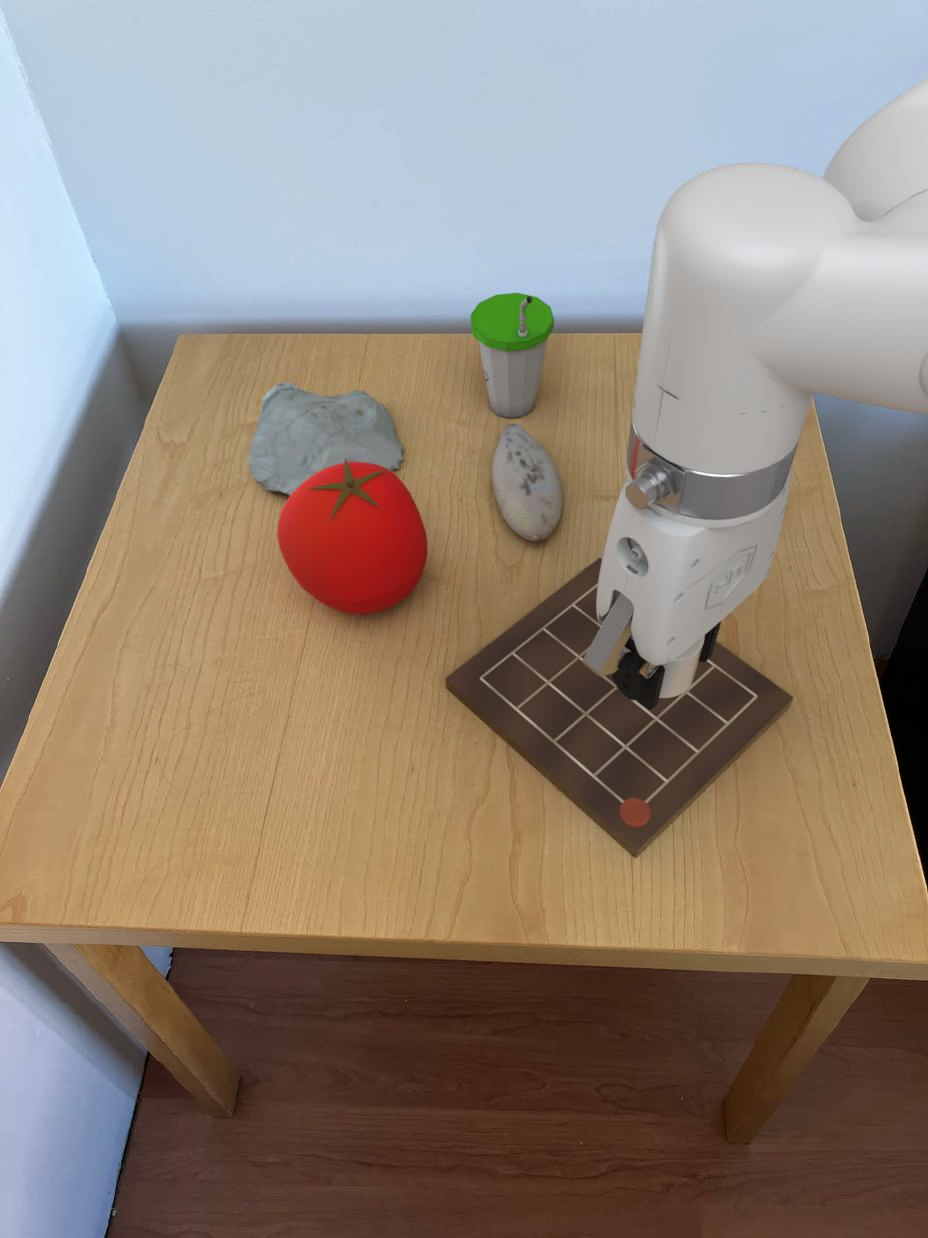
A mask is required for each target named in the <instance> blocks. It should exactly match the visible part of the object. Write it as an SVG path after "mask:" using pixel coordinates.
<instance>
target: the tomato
mask: <svg viewBox="0 0 928 1238" xmlns="http://www.w3.org/2000/svg"><path fill="white" fill-rule="evenodd" d="M276 537H277V541H278V547H279V550H280V553H281V555H282V557H283V561H284V562H285V565H286V566H287V568H288V570H289V572H290V574H291V575H292V576H293V578H294V579H295V581H296V582H297V583H298V584H299V585H300V586H301V588H302V589H303V590H304V591H305V592H307V593H308V594H309V595H311V596H312V597H313V598H315V600H317V601H318V602H320V603H321V604H322V605H325V606H326V607H328V608H330V609H333V610H336V611H339V612H341V613H346V614H350V615H369V614H374V613H378V612H382V611H385V610H388V609H391V608H392V607H394V606H397V604H399V603H401V602H402V601H403V600H404V599H405V598H406V597H407V596H409V595H410V594H412V592H413V591H414V590H415V588H416V587H417V585H418V584H419V583H420V580H421V578H422V576H423V573H424V570H425V566H426V562H427V559H428V538H427V532H426V529H425V525H424V522H423V520H422V516H421V514H420V511H419V508H418V506H417V504H416V502H415V500H414V498H413V495H412V493H411V492H410V490H409V489H408V488H407V486H406V484H404V482H403V481H402V480H401V479H400V477H399V476H398V475H396V473H394V472H393V471H392V472H391V471H390V470H388V468H385V467H382V466H379V465H376V464H372V463H366V462H347V460H346V457H345V463H341V464H337V465H334V466H331V467H328V468H325V469H323V470H321V471H319V472H317V473H316V474H314V475H313V476H311V477H310V478H308V479H307V480H306V481H304V482H303V483H302V484H301V485H300V486H299V487H298V488H297V489H296V490H295V491H294V492H293V493H292V494H291V495H290V496H288V498H287V500H286V501H285V503H284V505H283V507H282V509H281V511H280V513H279V518H278V521H277V533H276Z"/></svg>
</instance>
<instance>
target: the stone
mask: <svg viewBox="0 0 928 1238" xmlns="http://www.w3.org/2000/svg"><path fill="white" fill-rule="evenodd" d="M395 430H396V427H395V422H394V420H393V417H392V416H391V413H390V412H389V411H387V409H386V406H385V405H384V404H380V403H378V402H377V400H376V399H375V398H373V397H372V396H370V395H369V394H368V393H367V392H366V391H365V390H350V391H349V392H348V393H347V394H337V395H318V394H317V393H313V392H308V391H306V390H303V389H301V388H300V387H298V386H297V385H296V384H294V383H293V382H288V381H287V382H286V381H281V382H278V383H277V384H274V386H273V387H272V388H270V389H269V390H268V391H267V392H266V394H265V396H264V397H263V398H262V404H261V412H260V414H259V417H258V423H257V424H256V427H255V431H254V436H253V439H252V442H251V443H250V447H249V459H248V461H247V466H248V467H249V468H250V474H251V475H252V477H253V478H254V480H255V481H256V483H257V484H259V485H260V486H261V487H263V488H264V489H265V490H266V491H267V492H275V493H283V494H286V495H288V497H290V495H291V494H292V493H293V492H294V491H295V490H296V489H297V488H298V487H299V486H300V485H301V484H302V483H303V482H304V481H306V480H307V479H308V478H310V477H311V476H313V475H314V474H316V473H317V472H319V471H321V470H323V469H325V468H328V467H331V466H334V465H337V464H341V463H345V457H346V460H347V462H366V463H372V464H376V465H379V466H382V467H385V468H388V470H390V471H391V472H393V471H399V470H401V465H400V464H401V462H403V461H404V458H403V452H404V447H403V444H402V442H400V441H399V439H398V437H397V435H396V432H395Z"/></svg>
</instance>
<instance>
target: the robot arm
mask: <svg viewBox="0 0 928 1238" xmlns="http://www.w3.org/2000/svg"><path fill="white" fill-rule="evenodd" d="M654 234H655V235H654V238H653V239H654V241H653V245H652V251H651V253H652V254H651V261H650V270H649V275H648V276H649V278H648V284H647V285H648V286H647V293H646V300H645V309H644V316H643V325H642V330H641V331H642V332H641V341H640V348H639V355H638V364H637V371H636V372H637V374H636V379H635V388H634V395H633V404H632V411H631V412H632V413H631V419H630V420H631V421H630V429H629V435H628V445H627V452H626V460H625V474H626V475H625V476H626V479H627V480H626V481H625V482H624V484H623V486H622V487H621V490H620V493H619V496H618V500H617V503H616V505H615V508H614V512H613V515H612V518H611V522H610V525H609V530H608V533H607V536H606V540H605V545H604V550H603V554H602V557H601V559H602V563H601V568H600V574H599V581H598V588H597V600H596V612H597V618H598V622H599V623H600V624H602V626H601V628H600V630H599V632H598V633H597V635H596V637H595V639H594V641H593V642H592V644H591V646H590V648H589V650H588V651H587V653H586V655H585V657H584V659H583V664H584V665H586V666H587V667H588V668H589V669H590V670H592V671H593V672H594V673H595V674H597V675H598V676H599V677H602V676H606V675H609V674H613V675H612V678H613V680H614V682H615V683H616V686H617V688H618V689H619V691H620V692H621V693H622V694H624V695H625V696H626V697H627V698H629V699H631V700H635V699H636V700H637V701H638V702H639V703H641V704H642V705H643V706H644V707H646V708H647V709H649V710H652V709H653V708H654V707H655V706H656V705H657V704H658V701H659V696H660V692H661V687H662V683H663V678H664V674H665V668H664V666H663V664H666V663H669V662H671V661H673V660H674V659H676V658H677V657H679V656H680V655H681V654H682V653H684V652H685V651H686V650H687V649H689V648H690V647H691V646H692V645H693V644H695V643H696V642H697V641H698V640H699V639H700V638H702V637H703V636H704V635H705V639H704V644H703V647H702V651H701V655H700V659H699V662H706V661H707V660H708V659H709V658H710V657H711V656H712V653H713V649H714V646H715V642H717V638H718V635H719V632H720V628H721V625H722V621H723V620H724V619H725V618H726V617H727V616H728V615H729V614H730V613H732V612H733V611H734V610H735V609H736V608H737V607H739V606H740V605H741V604H742V603H744V601H745V600H746V599H748V598H749V597H750V595H752V594H753V593H754V592H755V591H756V590H757V589H758V588H759V586H760V585H762V583H763V582H764V581H765V579H766V578H767V577H768V575H769V574H770V573H769V572H770V570H771V567H772V563H773V562H774V561H773V560H774V557H775V553H776V550H777V546H778V544H779V539H780V535H781V532H782V528H783V523H784V518H785V515H786V509H787V504H788V501H789V500H788V499H789V494H790V487H791V481H792V479H791V478H792V464H793V461H794V458H795V455H796V452H797V449H798V445H799V442H800V439H801V436H802V432H803V430H804V427H805V423H806V420H807V417H808V413H809V410H810V407H811V404H812V401H813V397H814V394H818V395H824V396H828V397H832V398H838V399H842V400H847V401H853V402H857V403H861V404H866V405H871V406H875V407H880V408H885V409H889V410H893V411H899V412H903V413H904V412H905V413H911V414H917V415H922V416H923V415H924V416H928V77H926V78H924V79H923V80H920V81H919V82H917V83H916V84H914V85H912V86H911V87H910V88H907V90H905V91H903V92H902V93H900V94H899V95H898V96H896V97H894V98H893V99H891V100H890V101H889V102H887V103H886V104H884V105H883V106H882V107H881V108H879V109H878V110H877V111H875V112H874V113H873V114H872V115H871V116H870V117H869V118H867V119H865V121H863V122H862V123H861V124H860V125H859V126H858V127H857V128H856V129H854V131H853V132H852V133H851V134H850V135H849V136H848V137H847V138H846V140H844V141H843V143H842V144H841V145H840V146H839V148H838V149H837V150H836V152H835V153H834V155H833V157H831V159H830V161H829V162H828V164H827V166H826V168H825V170H824V172H823V174H822V177H820V176H819V175H816V174H814V173H812V172H809V171H807V170H803V169H800V168H798V167H794V166H789V165H785V164H779V163H771V162H752V161H751V162H737V163H732V164H731V163H730V164H725V165H721V166H716V167H713V168H711V169H708V170H704V171H701V172H700V173H699V174H697V175H695V176H692V177H691V178H689V179H687V181H685V182H684V183H683V184H681V185H680V186H679V187H678V188H677V189H676V190H675V192H674V193H672V195H671V196H670V197H669V198H668V200H667V202H666V204H665V205H664V207H663V209H662V211H661V213H660V215H659V218H658V220H657V224H656V228H655V233H654ZM632 636H633V639H632Z"/></svg>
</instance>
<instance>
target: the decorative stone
mask: <svg viewBox="0 0 928 1238" xmlns="http://www.w3.org/2000/svg"><path fill="white" fill-rule="evenodd" d="M561 481H562V480H561V477H560V474H559V471H558V468H557V466H556V464H555V462H554V461H553V459H552V457H551V455H550V454H549V452H548V451H547V450H546V449H545V447H544V446H543V445H542V444H541V443H539V442H538V440H536V439H535V437H534V436H532V435H531V434H530V433H529V432H527V431H526V430H525V429H524V428H523V427H522V426H521V425H520V424H518V423H508V424H506V425H505V426H504V427H503V429H502V430H501V434H500V437H499V439H498V441H497V445H496V448H495V451H494V455H493V458H492V464H491V482H492V488H493V493H494V497H495V501H496V504H497V506H498V508H499V511H500V514H501V516H502V517H503V519H504V520H505V522H506V523H507V525H508V526H509V527H510V528H511V530H512V531H513V532H514V533H516V534H517V535H518V536H520V537H521V538H523V539H525V540H528V541H531V542H540V541H543V540H545V539H546V538H548V537H549V536H550V535H551V534H552V533H553V532H554V531H555V529H556V527H557V526H558V524H559V521H560V518H561V516H562V510H563V504H564V503H563V501H564V500H563V490H562V489H563V488H562V483H561Z"/></svg>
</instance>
